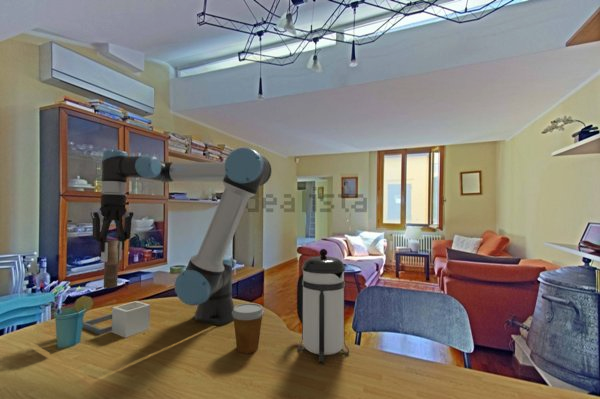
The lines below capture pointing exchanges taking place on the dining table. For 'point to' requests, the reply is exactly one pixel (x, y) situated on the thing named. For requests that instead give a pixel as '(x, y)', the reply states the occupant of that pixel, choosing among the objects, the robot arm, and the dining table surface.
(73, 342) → the cup
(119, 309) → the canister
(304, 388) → the dining table surface
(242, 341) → the disposable coffee cup
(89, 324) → the tray
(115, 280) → the dowel
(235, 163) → the robot arm
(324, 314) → the coffee press
